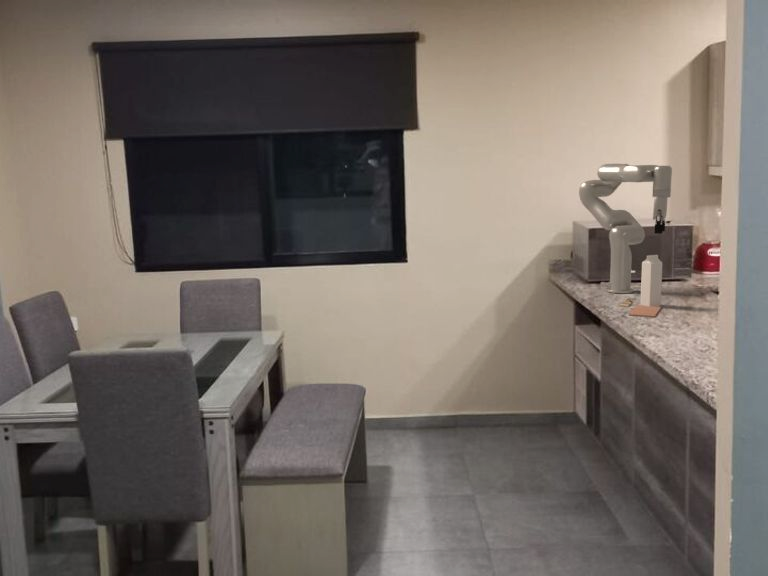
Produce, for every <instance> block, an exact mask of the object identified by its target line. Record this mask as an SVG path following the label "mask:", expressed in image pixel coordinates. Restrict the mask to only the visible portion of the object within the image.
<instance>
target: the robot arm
mask: <svg viewBox="0 0 768 576" xmlns="http://www.w3.org/2000/svg"><path fill="white" fill-rule="evenodd" d="M672 172H673V168H672V167H671V166H670V165H658V164H639V165H629V164H628V163H605V164H603V165H601V166H600V167H599V168H597V173H596V175H597V177H598V179H590V180H585V181H584V182H582V183H581V184H580V186H579V189H578V195H579V200H580V202H581V204H582V205H583V206H584V208H585V209H586V210H587V211H588V212H589V213H590V214H591V215H592V217H594V218H595V220H596V221H597V222H598V223H599V225H600V226H601V227H602V228H603V229H604V230H606V231H609V234H608V239H609V244H610V269H609V271H610V273H609V274H610V276H609V277H610V278H609V281H608V282H605V281H601V282H600V287H607V288H606V289H605V290H606V292H608V293H610V294H611V293H612V294H632V293H634V292H635V289H634V288H631V287H632V286H631V284H632V261H633V259H632V258H633V256H632V251H631V247H630V246H632V245H633V246H634V245H638V244H641V243H642V242H644V240H645V238H646V233H645V230H644V228H643V225H641V224H640V222H639V221H638V220H637V219H636V218H635V217H634V216H633V215H632V214H631V213H630V212H629V211H628V210H626V209H613V208H611V207H610V205H608V203H606V201H604V200H603V199H601V198H603V197H604V198H605V197H606V198H607V197H609V196H611V195H612V194H613V193H615V191H617V190H618V187H619V186H620V185H622V183H647V182H648V183H652V198H654V200H653V213H652V219H653V221H655V222H654V223H655V224H654V234H658V235H659V234H661V235H662V234H663V232H665V231H666V218H667V213H668V212H667V211H668V199H669V198H671V195H672V194H671V192H672V190H671V189H672V174H673V173H672Z"/></svg>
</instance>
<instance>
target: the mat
mask: <svg viewBox="0 0 768 576" xmlns="http://www.w3.org/2000/svg"><path fill="white" fill-rule="evenodd" d="M660 310H662V307H661V306H656V307H654V306H643V305H638V304H636V305H635V307H634V308H633V309H632V310H631V311H630V312H629V314H628V316H631V317H641V316H650V317H649V318H655V317H656V316H657V315H658V314H659V312H660Z"/></svg>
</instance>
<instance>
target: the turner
mask: <svg viewBox="0 0 768 576" xmlns="http://www.w3.org/2000/svg"><path fill="white" fill-rule="evenodd" d="M631 305H632V298H627V299H626V300H625V301H622V302H621V303H620V304H619V305H618V306H619V308H620V307H621V308H623V307H624V308H628V307H630V306H631Z"/></svg>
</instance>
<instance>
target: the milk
mask: <svg viewBox="0 0 768 576" xmlns="http://www.w3.org/2000/svg"><path fill="white" fill-rule="evenodd" d="M640 276H641V279H640V281H641V283H640V301H639V302H640V305H639V306H654V307H661V303H662V284H663V283H662V279H663V261H661V260H660V258H659V254H649V255H646V258H645V260H643V261H642V262H641V275H640Z"/></svg>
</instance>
